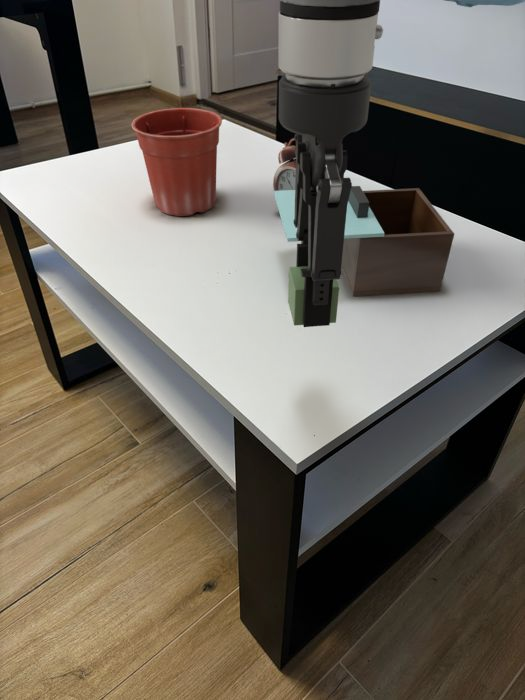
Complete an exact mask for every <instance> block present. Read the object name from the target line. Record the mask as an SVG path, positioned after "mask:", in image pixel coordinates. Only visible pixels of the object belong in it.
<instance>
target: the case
mask: <svg viewBox="0 0 525 700" xmlns="http://www.w3.org/2000/svg"><path fill="white" fill-rule="evenodd" d="M362 191H363V192H364V194H365V196H366V198H367V199H368V201H369V207H370V209H371V211H372V212H373V214H374V216H375V218H376V219H377V221H378V223H379V224H380V226H381V228H382V230H383V231H384V237H368V238H349V239H344V243H343V253H342V264H341V272H342V273H343V275H344V278H345V281H346V283H347V285H348V288H349V291H350V293H351V295H352V297H364V296H365V297H366V296H379V295H382V296H383V295H397V294H411V293H429V292H430V293H431V292H441V289H442V284H443V281H444V278H445V273H446V270H447V269H446V268H447V265H448V262H449V261H448V260H449V257H450V253H451V249H452V247H453V242H454V237H455V232H454V231H453V230H452V228H451V227H450V225H448V223H447V222H446V221H445V219H444V218H443V217H442V215H440V213H439V212H438V211H437V209H436V208H435V207H434V205H433V204H432V203H431V201H429V199H428V198H427V196H426V195H425V194H424V193H423V191H422V190H421V189H420V188H419V187H416V188H395V189H394V188H393V189H375V190H374V189H373V190H362Z"/></svg>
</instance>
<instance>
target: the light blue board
mask: <svg viewBox="0 0 525 700" xmlns="http://www.w3.org/2000/svg"><path fill="white" fill-rule="evenodd" d="M363 191H364V190H363V189H362V187H361V185H352V188H351V191H350V195H349V200H348V204H347V213H346V223H345V233H344V239H349V238H368V237H384V231H383V230H382V228H381V226H380V224H379V223H378V221H377V219H376V218H375V216H374V214H373V212H372V211H371V209H370V207H369V201H368V199H367V198H366V196H365V194H364V192H363ZM273 196H274V199H275V203H276V206H277V210H278V213H279V216H280V220H281V223H282V228H283V231H284V234H285V238H286V241H287V242H288V243H290V242H291V243H293V242H299V241H298V240H297V238H296V232H297V228H295V226H294V217H295V190H284V191H274V190H273Z"/></svg>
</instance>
